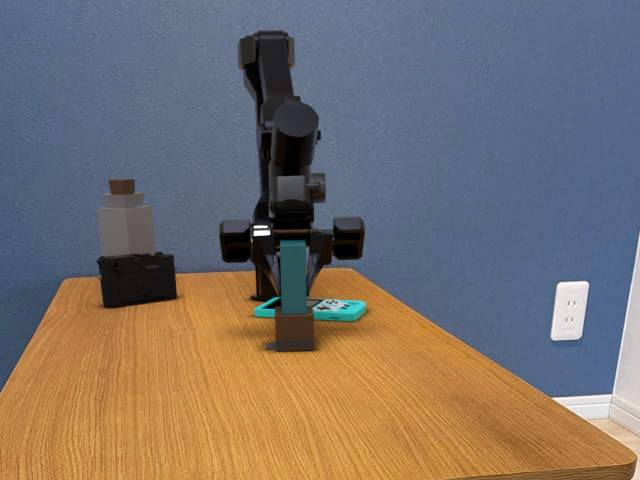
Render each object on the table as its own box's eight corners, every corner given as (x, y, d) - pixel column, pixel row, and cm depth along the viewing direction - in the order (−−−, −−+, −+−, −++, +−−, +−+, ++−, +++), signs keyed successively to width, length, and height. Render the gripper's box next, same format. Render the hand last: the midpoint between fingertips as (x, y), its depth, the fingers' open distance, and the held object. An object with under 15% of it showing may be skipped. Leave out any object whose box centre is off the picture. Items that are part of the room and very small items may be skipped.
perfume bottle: (158, 283, 158) (148, 178, 150) (133, 289, 153) (122, 181, 145) (130, 280, 162) (120, 178, 154) (105, 286, 157) (93, 180, 149)
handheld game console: (354, 321, 126) (354, 312, 125) (252, 316, 130) (252, 307, 130) (370, 308, 134) (370, 299, 133) (274, 304, 139) (274, 295, 138)
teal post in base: (275, 340, 116) (273, 239, 110) (312, 339, 116) (311, 238, 110) (275, 351, 111) (272, 246, 105) (314, 350, 111) (313, 245, 105)
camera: (165, 292, 150) (161, 244, 146) (184, 298, 145) (180, 249, 141) (88, 303, 143) (82, 253, 139) (105, 309, 138) (99, 258, 134)
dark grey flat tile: (265, 349, 112) (265, 349, 112) (267, 342, 115) (267, 342, 115) (296, 349, 112) (296, 348, 112) (296, 342, 115) (296, 342, 115)
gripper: (215, 151, 106) (215, 257, 101) (364, 147, 106) (371, 253, 102) (222, 212, 117) (222, 310, 112) (358, 208, 117) (364, 307, 112)
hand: (293, 294), depth 109 cm, fingers closed on teal post in base, 3 cm apart
